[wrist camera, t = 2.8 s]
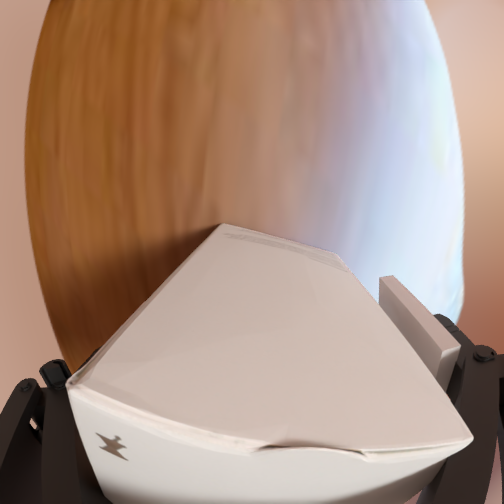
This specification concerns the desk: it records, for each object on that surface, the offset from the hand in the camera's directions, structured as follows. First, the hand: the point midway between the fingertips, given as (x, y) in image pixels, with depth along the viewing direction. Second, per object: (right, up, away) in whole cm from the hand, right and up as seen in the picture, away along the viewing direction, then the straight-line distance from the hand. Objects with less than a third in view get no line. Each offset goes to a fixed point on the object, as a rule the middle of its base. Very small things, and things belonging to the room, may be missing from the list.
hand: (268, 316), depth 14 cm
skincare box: (0, +1, +5) cm, 5 cm away
